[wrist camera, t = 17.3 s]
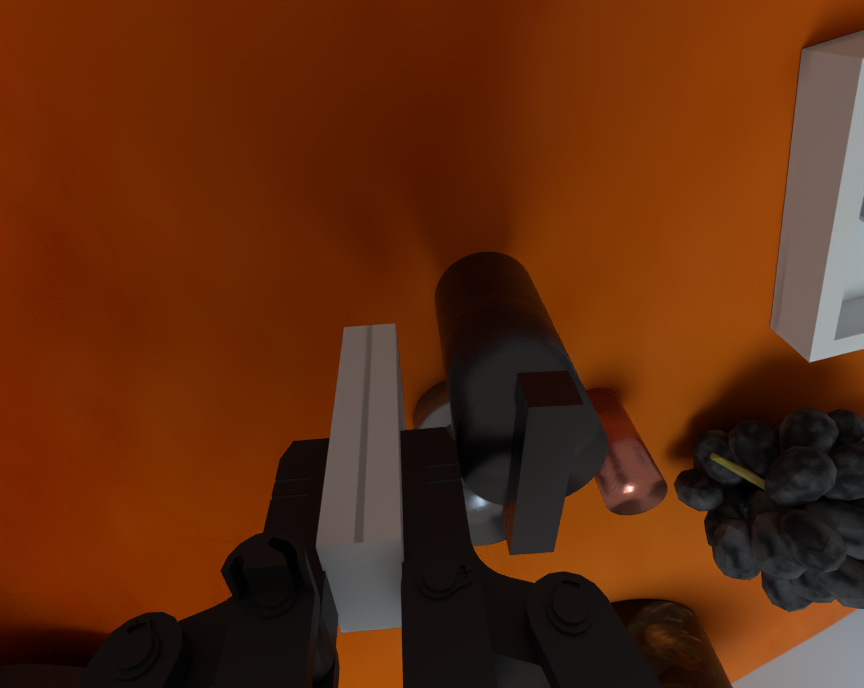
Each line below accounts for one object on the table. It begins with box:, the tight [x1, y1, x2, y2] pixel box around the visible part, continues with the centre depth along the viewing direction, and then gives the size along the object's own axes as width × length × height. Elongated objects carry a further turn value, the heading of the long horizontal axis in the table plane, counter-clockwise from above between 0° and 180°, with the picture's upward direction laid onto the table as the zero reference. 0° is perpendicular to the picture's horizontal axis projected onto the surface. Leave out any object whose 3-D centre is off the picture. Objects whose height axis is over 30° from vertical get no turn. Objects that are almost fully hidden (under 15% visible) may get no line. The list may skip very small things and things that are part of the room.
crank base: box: [413, 381, 667, 515], centre depth 22 cm, size 9×5×5 cm, turn 106°
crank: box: [435, 252, 608, 555], centre depth 16 cm, size 12×4×8 cm, turn 1°
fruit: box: [674, 408, 864, 612], centre depth 23 cm, size 9×8×15 cm
